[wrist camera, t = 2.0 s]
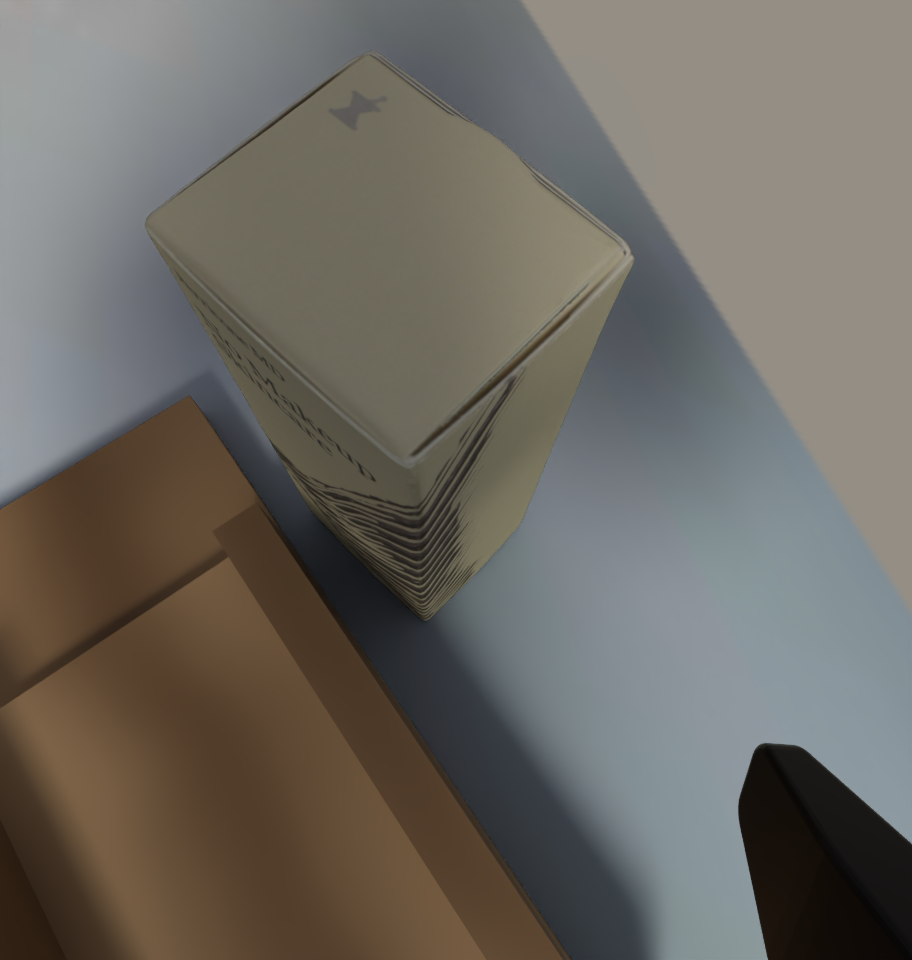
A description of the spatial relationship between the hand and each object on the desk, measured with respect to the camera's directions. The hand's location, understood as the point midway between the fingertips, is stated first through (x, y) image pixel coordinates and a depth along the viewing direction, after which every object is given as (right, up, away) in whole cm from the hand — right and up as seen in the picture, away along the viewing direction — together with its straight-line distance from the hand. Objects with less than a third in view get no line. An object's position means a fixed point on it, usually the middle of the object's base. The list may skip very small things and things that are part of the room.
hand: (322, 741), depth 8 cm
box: (0, +2, +14) cm, 14 cm away
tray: (-4, -6, +11) cm, 13 cm away
